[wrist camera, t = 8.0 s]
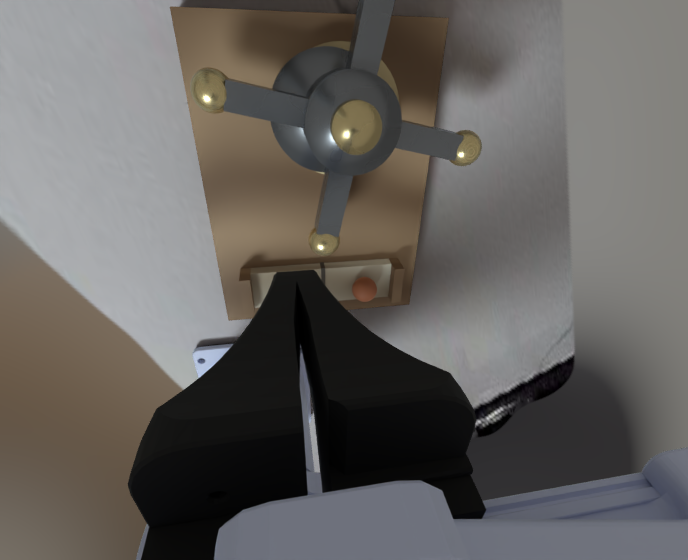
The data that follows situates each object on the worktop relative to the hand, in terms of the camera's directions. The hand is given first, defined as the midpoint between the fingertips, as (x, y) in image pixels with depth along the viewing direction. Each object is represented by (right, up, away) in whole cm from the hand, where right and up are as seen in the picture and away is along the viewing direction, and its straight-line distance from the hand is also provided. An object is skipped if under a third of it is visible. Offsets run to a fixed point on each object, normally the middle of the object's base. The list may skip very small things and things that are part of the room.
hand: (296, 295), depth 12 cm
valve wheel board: (0, +6, +9) cm, 11 cm away
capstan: (+1, +8, +5) cm, 10 cm away
